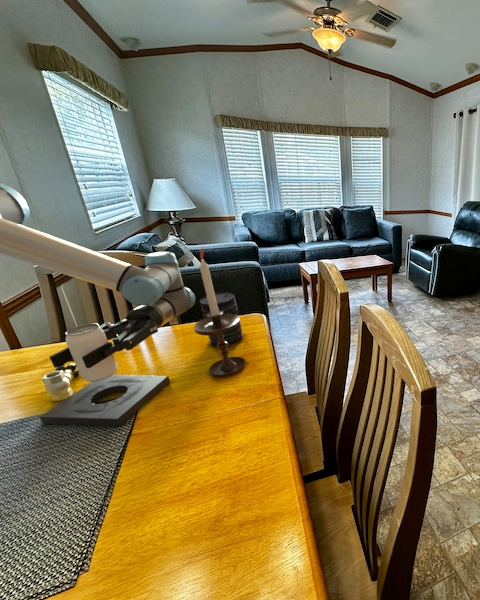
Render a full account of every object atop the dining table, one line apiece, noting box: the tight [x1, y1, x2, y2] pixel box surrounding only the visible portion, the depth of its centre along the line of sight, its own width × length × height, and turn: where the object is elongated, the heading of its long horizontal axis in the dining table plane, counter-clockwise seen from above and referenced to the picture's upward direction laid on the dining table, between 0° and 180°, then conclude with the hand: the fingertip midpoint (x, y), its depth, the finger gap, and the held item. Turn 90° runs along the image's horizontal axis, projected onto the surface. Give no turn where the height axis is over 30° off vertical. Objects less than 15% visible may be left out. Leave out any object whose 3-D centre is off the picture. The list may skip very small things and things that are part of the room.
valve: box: [41, 359, 80, 402], centre depth 83 cm, size 7×7×12 cm
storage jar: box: [199, 292, 244, 348], centre depth 105 cm, size 10×10×15 cm
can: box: [65, 323, 119, 383], centre depth 75 cm, size 6×6×12 cm
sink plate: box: [39, 374, 171, 427], centre depth 80 cm, size 18×16×2 cm
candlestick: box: [193, 246, 246, 378], centre depth 86 cm, size 11×11×35 cm
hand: (69, 362), depth 70 cm, fingers closed on can, 6 cm apart
